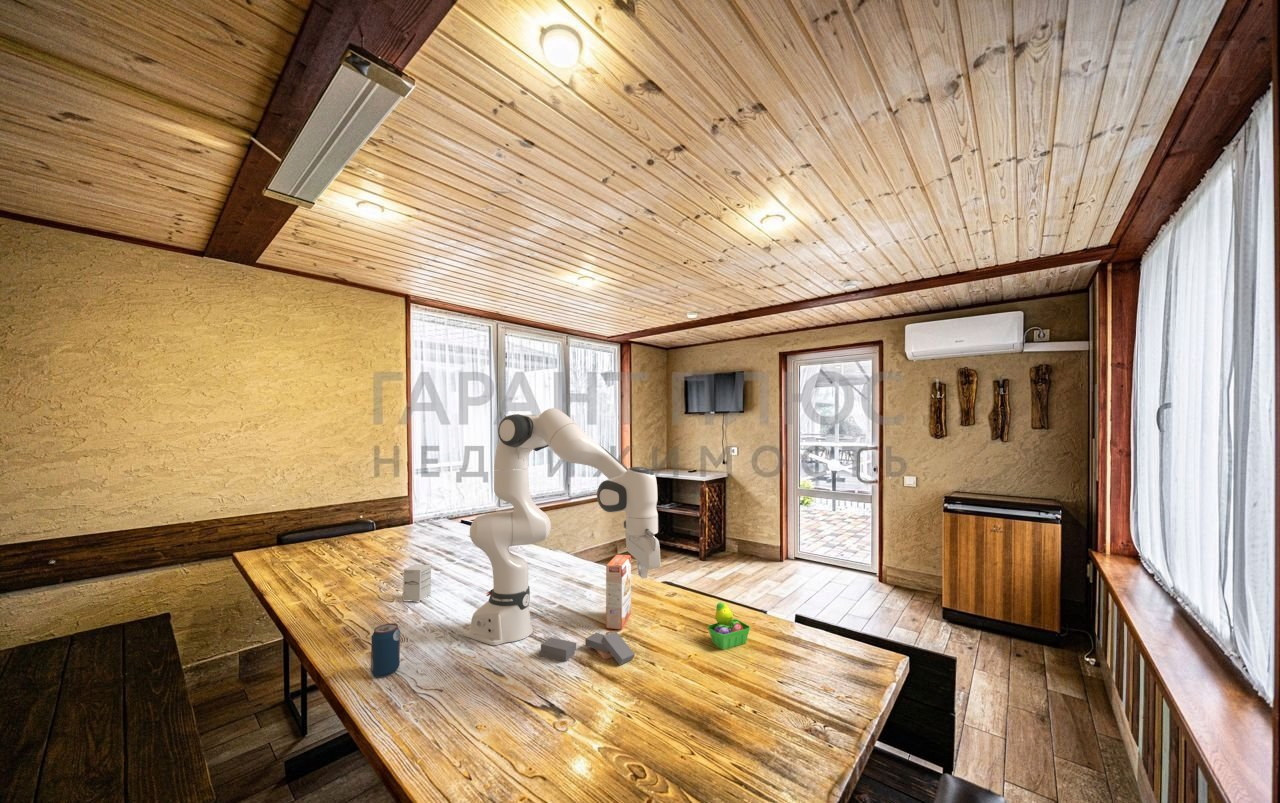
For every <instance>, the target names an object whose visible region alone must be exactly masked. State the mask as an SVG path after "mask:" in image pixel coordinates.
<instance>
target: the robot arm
mask: <svg viewBox="0 0 1280 803" xmlns="http://www.w3.org/2000/svg"><path fill="white" fill-rule="evenodd" d="M497 433H498V434H497V435H498V438H499V441H498V443H497V446H496V450H495V456H494V466H493V468H494V471H493V474H494V475H493V479H494V480H493V491H494V494H495V496H496V497H497V498H498V499H499V500H502V501H504V502H506V503H508V504H510V505H512V507H513V511H508V512H507V511H506V512H491V513H485V514H483V515H479V516H477V517H475V519H474V520H472V523H471V524H470V528H469V537H470V540H471V542H472V543H473V545H474V546H476V547H477V548H479V549H480V550H481V551H483V553H484V554H485V556H487V558H488V559H489V561H490V564H491V568H492V569H491V570H492V577H493V580H492V581H493V584H492V585H493V588H492V589H490V591H487V592H486V595H485V596H486V597H489V598H488V601H486V602H485V603H484V604H483V605H481V606H480V607H479V608H478V609H476V610H475V612H474V613H473V614H472V617H471V621H470V624H469V625H468V626H467V627H466V628H465V629H464V630H463V633H462V635H463V636H464V637H466V638H469V639H473V640H476V641H478V642H481V643H484V644H488V645H490V646H498V645H501V644H505V643H513V642H516V641H520V640H523V639H526V638H528V637H529V636H530V635H532V634H533V632H534V627H533V623H532V620H531V614H530V601H531V600H530V598H531V596H530V594H531V592H530V591H531V590H530V586H529V564H528V562H527V560H525V558H523V557H522V556H519V555H516V554H514V553H512V552H511V551H510V550H509V548H511V547H516V546H528V545H534V544H538V543H542V542H545V541H546V540H547V539H548V537H549V535H550V533H551V529H552V523H551V519H550V517H549V515H547V513H546V512H545V511H543V510H541V509H540V507H538V505H537V504H536V503H535V502H534V500H533V498H532V495H531V492H530V484H529V455H530V453H531V452H532V451H535V452H538V451H540V450H542V449H545V448H548V447H549V448H550V449H551V450H552V451H553V452H554V454H556V456H557V457H559V458H560V459H562V460H563V461H565V462H567V463H571V464H577V465H584V466H588V467H592V468H594V469H596V470H598V471H599V472H600V473H602V474H603V475H604V476H605V477H606V478H607V479H606V480H603V481H601V482H600V484H599V486H598V487H597V490H596V500H597V503H598V505H599V507H600V508H601V509H602V510H603V511H605V512H607V513H617V512H625V514H626V519H624V520H623V528H624V529H625V530H624V532H625V535H624V536H625V546H626V550H627V552H628V553H629V555H630V556H631V557H633V558H634V559H635V560H636V565H637V574H638V576H639V577H640V578H641V579H647V578H648V571H649V570H657V569H660V567H661V565H662V564H661V561H662V560H661V548H660V546H661V545H660V541H659V539H658V538H657V537H655V535H656V534H658V533H659V513H658V510H657V504H658V499H659V498H658V484H657V483H658V482H657V477H656V474H655V472H654V471H653V470H652V469H650V468H647V467H641V466H632V467H629V468H627V467H626V466H625V465H624V464H623V463H622V462H620V460H618V459H617V458H616V457H615V456H614V455H613V454H612V453H611V452H610V451H608V450H607V449H605V447H603V446H602V445H601V444H599V443H598V442H597V441H595V440H594V439H593V438H592V437H590V435H588V434H587V433H586V432H585V431H584V430H583V429H582V428H581V427H580V426H579V425H578V423H576V422H575V421H574V420H573V419H572V418H571V417H570V416H569V415H567V414H566V413H564V411H562V410H560V409H559V408H556V407H555V408H554V407H553V408H548V409H546V410H544V411H543V412H542V413H541V414H540V415H536V414H519V413H517V414H509V415H506V416H505V417H504V418H502V419H501V421H500V423H499V425H498V429H497Z"/></svg>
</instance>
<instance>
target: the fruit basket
mask: <svg viewBox="0 0 1280 803" xmlns="http://www.w3.org/2000/svg"><path fill="white" fill-rule="evenodd" d="M714 616H715V621H716V623H713V624H709V625H707V629H708V632H709V633H710V638H711V641H712V643H713V645H715V646H717V648H720V649H721V650H723V651H724V650H727V649H731V648H734V647H737V646H738V647H739V646H741V645H745V644H747V640H748V635H749V632H750V630H751V626H750V625H749V624H747V623H745V622H743V621H741V620H739V619H738V618H734V613H733V612H732V610H731V609H730V608H729V607H728V606H727V604H726V603H724V602H718V603H717V604H716V611H715V615H714Z"/></svg>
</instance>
